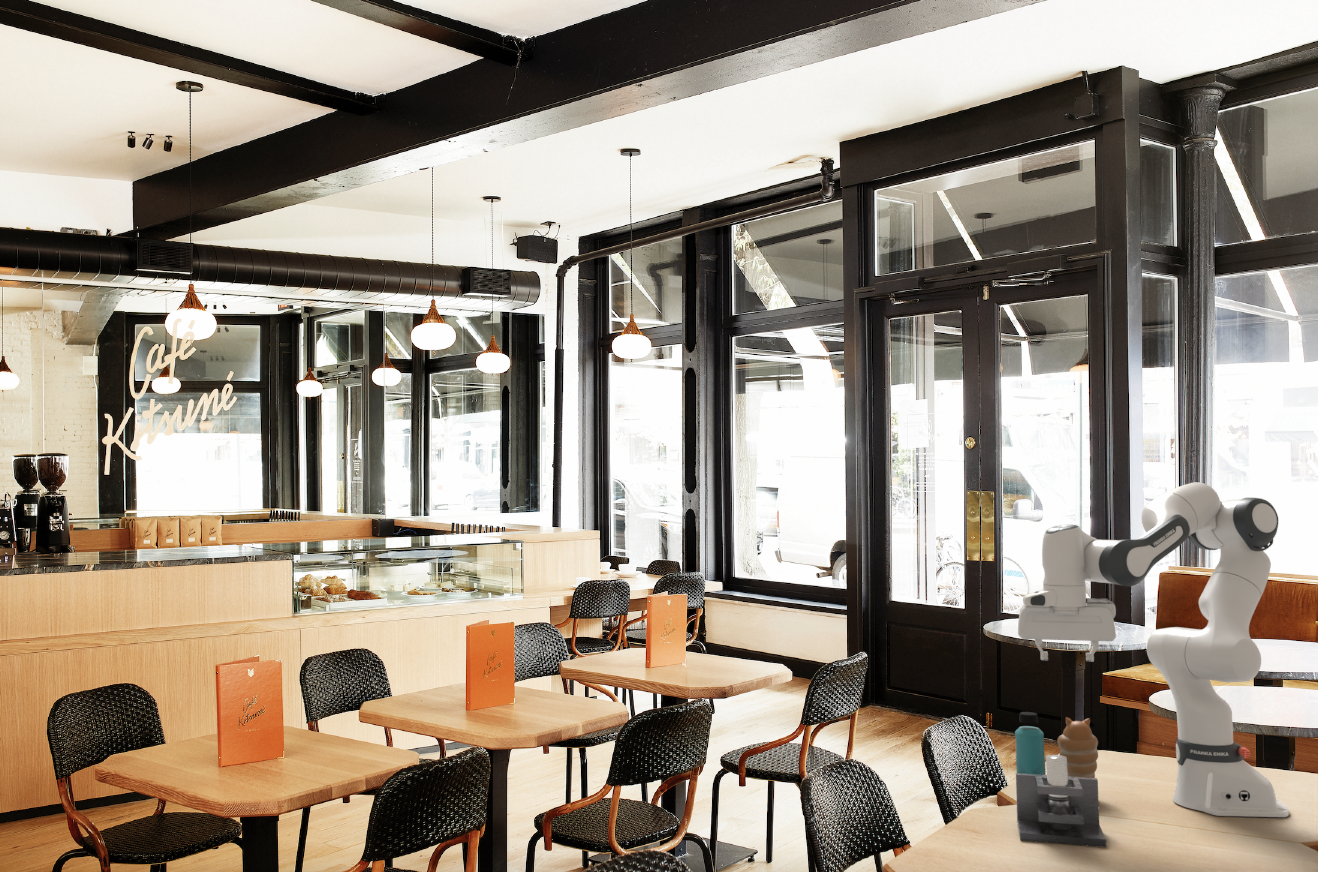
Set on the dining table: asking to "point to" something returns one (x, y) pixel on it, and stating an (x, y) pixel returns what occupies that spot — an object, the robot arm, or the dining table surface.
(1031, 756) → the beverage bottle
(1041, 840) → the collar stand
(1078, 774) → the cat ice cream
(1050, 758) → the grey cylinder
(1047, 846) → the dining table surface
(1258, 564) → the robot arm
